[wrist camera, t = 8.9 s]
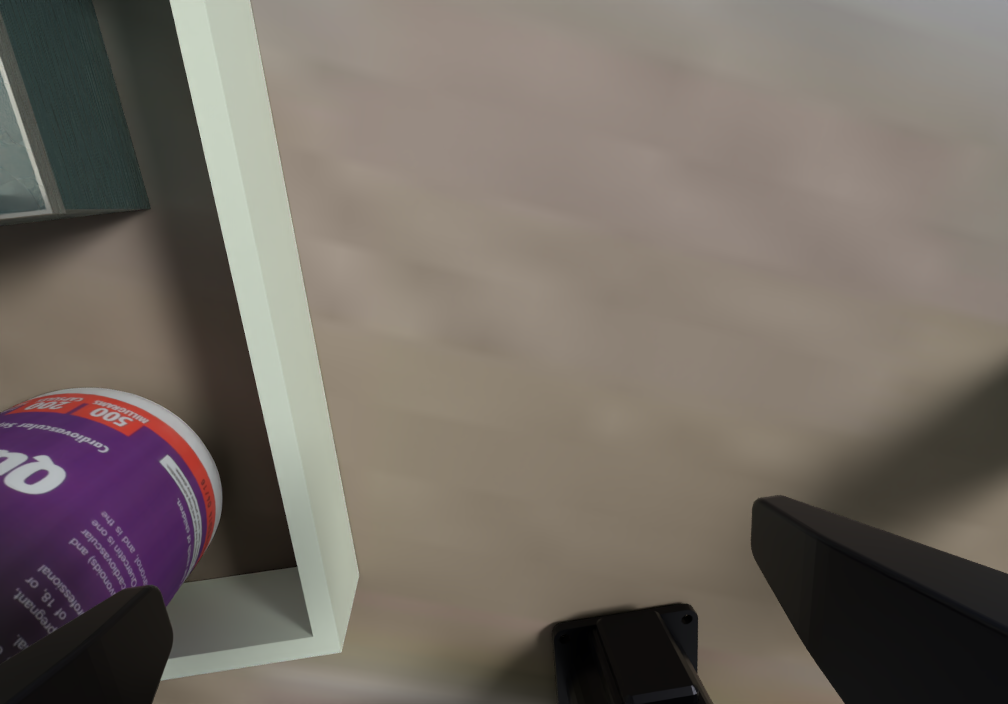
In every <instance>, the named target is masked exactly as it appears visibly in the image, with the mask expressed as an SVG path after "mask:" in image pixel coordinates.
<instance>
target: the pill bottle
mask: <svg viewBox="0 0 1008 704" xmlns="http://www.w3.org/2000/svg"><path fill="white" fill-rule="evenodd" d="M221 511H222V486H221V480H220V476H219V472H218V470H217V467H216V464H215V462H214V460H213V458H212V456H211V454H210V453H209V451H208V449H207V448H206V446H205V445H204V443H203V442H202V441H201V439H200V438H199V436H198V435H197V434H196V433H195V432H194V431H193V430H192V429H191V428H190V427H189V426H188V425H187V424H186V423H185V422H184V421H183V420H182V419H180V418H179V417H178V416H177V415H175V414H174V413H172V412H171V411H169V410H168V409H166V408H164V407H163V406H161V405H159V404H157V403H155V402H153V401H150V400H148V399H146V398H143V397H141V396H138V395H135V394H132V393H128V392H123V391H118V390H113V389H106V388H72V389H64V390H58V391H54V392H50V393H46V394H43V395H40V396H37V397H34V398H31V399H29V400H27V401H25V402H22V403H20V404H18V405H15V406H13V407H11V408H9V409H7V410H5V411H3V412H1V413H0V664H1V663H3V662H4V661H6V660H8V659H9V658H11V657H12V656H14V655H16V654H17V653H19V652H21V651H22V650H24V649H26V648H27V647H29V646H30V645H32V644H34V643H35V642H37V641H39V640H40V639H42V638H44V637H45V636H47V635H48V634H50V633H52V632H53V631H55V630H57V629H58V628H60V627H62V626H63V625H65V624H66V623H68V622H70V621H71V620H73V619H75V618H76V617H78V616H80V615H81V614H83V613H84V612H86V611H88V610H89V609H91V608H93V607H94V606H96V605H97V604H99V603H101V602H102V601H104V600H106V599H107V598H109V597H111V596H112V595H114V594H115V593H117V592H119V591H121V590H122V589H126V588H130V587H137V586H145V585H154V586H157V587H158V588H159V589H160V591H161V593H162V596H163V599H164V603H165V606H166V607H167V605H168V604H169V603H170V601H171V600H172V598H173V597H174V595H175V594H176V592H177V591H178V590H179V588H180V587H181V586H182V584H183V583H184V581H185V580H186V578H187V577H188V575H189V574H190V573H191V571H192V570H193V569H194V567H195V566H196V564H197V563H198V561H199V560H200V558H201V557H202V555H203V554H204V552H205V551H206V549H207V548H208V546H209V544H210V543H211V541H212V539H213V537H214V535H215V532H216V530H217V527H218V524H219V521H220V517H221Z"/></svg>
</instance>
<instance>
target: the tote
mask: <svg viewBox="0 0 1008 704" xmlns="http://www.w3.org/2000/svg"><path fill="white" fill-rule="evenodd" d="M170 4H171V8H172V13H173V17H174V22H175V26H176V30H177V35H178V39H179V44H180V48H181V53H182V57H183V61H184V66H185V70H186V75H187V79H188V84H189V88H190V92H191V97H192V101H193V106H194V110H195V115H196V119H197V123H198V128H199V132H200V137H201V141H202V146H203V150H204V154H205V159H206V163H207V168H208V172H209V177H210V181H211V186H212V190H213V194H214V199H215V203H216V208H217V212H218V217H219V221H220V225H221V230H222V234H223V239H224V243H225V248H226V252H227V256H228V261H229V265H230V270H231V274H232V279H233V283H234V287H235V292H236V296H237V301H238V305H239V310H240V314H241V318H242V323H243V327H244V332H245V336H246V341H247V345H248V349H249V354H250V358H251V363H252V367H253V372H254V376H255V381H256V385H257V389H258V394H259V398H260V403H261V407H262V412H263V416H264V420H265V425H266V429H267V434H268V438H269V443H270V447H271V451H272V456H273V460H274V465H275V469H276V474H277V478H278V482H279V487H280V491H281V496H282V500H283V505H284V509H285V513H286V518H287V522H288V527H289V531H290V536H291V540H292V544H293V549H294V553H295V558H296V562H297V567H292V568H285V569H278V570H271V571H265V572H258V573H251V574H244V575H237V576H230V577H223V578H216V579H209V580H202V581H195V582H188V583H183V584H182V586H181V587H180V588H179V590H178V591H177V592H176V594H175V595H174V597H173V598H172V600H171V601H170V603H169V604H168V605H167V607H166V609H167V612H168V616H169V619H170V622H171V625H172V629H173V636H174V637H173V646H172V650H171V653H170V656H169V658H168V661H167V664H166V667H165V669H164V672H163V675H162V678H161V680H168V679H174V678H180V677H187V676H193V675H200V674H206V673H212V672H219V671H225V670H231V669H238V668H244V667H251V666H257V665H263V664H270V663H276V662H283V661H289V660H295V659H302V658H308V657H315V656H321V655H327V654H334V653H340V652H342V648H343V644H344V640H345V635H346V631H347V626H348V622H349V618H350V613H351V609H352V605H353V600H354V596H355V592H356V587H357V583H358V578H359V571H358V566H357V560H356V555H355V550H354V545H353V539H352V534H351V529H350V524H349V518H348V513H347V508H346V503H345V497H344V492H343V487H342V482H341V476H340V471H339V466H338V461H337V455H336V450H335V445H334V440H333V434H332V429H331V424H330V419H329V413H328V408H327V403H326V397H325V392H324V387H323V382H322V376H321V371H320V366H319V361H318V355H317V350H316V345H315V340H314V334H313V329H312V324H311V319H310V313H309V308H308V303H307V298H306V292H305V287H304V282H303V277H302V271H301V266H300V261H299V256H298V250H297V245H296V240H295V235H294V229H293V224H292V219H291V214H290V208H289V203H288V198H287V193H286V187H285V182H284V177H283V171H282V166H281V161H280V156H279V150H278V145H277V140H276V135H275V129H274V124H273V119H272V114H271V108H270V103H269V98H268V93H267V87H266V82H265V77H264V72H263V66H262V61H261V56H260V51H259V45H258V40H257V35H256V30H255V24H254V19H253V14H252V9H251V3H250V0H170ZM161 680H160V681H161Z"/></svg>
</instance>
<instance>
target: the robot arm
mask: <svg viewBox="0 0 1008 704" xmlns="http://www.w3.org/2000/svg"><path fill="white" fill-rule="evenodd" d="M751 549H752V553H753V556H754V559H755V561H756V563H757V564H758V566H759V568H760V570H761V571H762V573H763V575H764V577H765V578H766V580H767V582H768V583H769V585H770V587H771V589H772V590H773V592H774V594H775V596H776V597H777V599H778V601H779V603H780V604H781V606H782V608H783V610H784V611H785V613H786V615H787V616H788V618H789V620H790V622H791V623H792V625H793V627H794V629H795V630H796V632H797V634H798V636H799V637H800V639H801V640H802V642H803V644H804V645H805V647H806V649H807V650H808V652H809V653H810V655H811V656H812V658H813V659H814V660H815V662H816V663H817V665H818V666H819V668H820V669H821V671H822V672H823V673H824V675H825V676H826V678H827V679H828V680H829V682H830V683H831V685H832V686H833V688H834V689H835V690H836V692H837V693H838V695H839V696H840V697H841V699H842V700H843V702H844V703H845V704H1008V574H1007V573H1004V572H1001V571H998V570H995V569H992V568H990V567H987V566H984V565H981V564H978V563H975V562H972V561H969V560H967V559H964V558H961V557H958V556H955V555H952V554H949V553H946V552H944V551H941V550H938V549H935V548H932V547H929V546H926V545H923V544H921V543H918V542H915V541H912V540H909V539H906V538H903V537H900V536H898V535H895V534H892V533H889V532H886V531H883V530H880V529H877V528H875V527H872V526H869V525H866V524H863V523H860V522H857V521H854V520H852V519H849V518H846V517H843V516H840V515H837V514H834V513H831V512H829V511H826V510H823V509H820V508H817V507H814V506H811V505H809V504H806V503H803V502H800V501H797V500H794V499H791V498H788V497H786V496H782V495H777V496H770V497H763V498H758V499H757V500H755V502H754V503H753V507H752V526H751ZM685 615H687V616H686V617H684V618H682V617H683V616H685ZM564 634H567V635H566V636H564V637H561V636H562V635H564ZM173 637H174V636H173V629H172V625H171V622H170V619H169V616H168V612H167V609H166V606H165V603H164V599H163V596H162V593H161V591H160V589H159V588H158V587H157V586H154V585H145V586H137V587H130V588H126V589H122V590H121V591H119V592H117V593H115V594H114V595H112V596H111V597H109V598H107V599H106V600H104V601H102V602H101V603H99V604H97V605H96V606H94V607H93V608H91V609H89V610H88V611H86V612H84V613H83V614H81V615H80V616H78V617H76V618H75V619H73V620H71V621H70V622H68V623H66V624H65V625H63V626H62V627H60V628H58V629H57V630H55V631H53V632H52V633H50V634H48V635H47V636H45V637H44V638H42V639H40V640H39V641H37V642H35V643H34V644H32V645H30V646H29V647H27V648H26V649H24V650H22V651H21V652H19V653H17V654H16V655H14V656H12V657H11V658H9V659H8V660H6V661H4V662H3V663H1V664H0V704H152V703H153V700H154V697H155V694H156V691H157V689H158V686H159V683H160V680H161V678H162V675H163V672H164V669H165V667H166V664H167V661H168V658H169V656H170V653H171V650H172V646H173ZM552 640H553V653H554V666H555V678H556V691H557V704H713V702H712V700H711V699H710V697H709V695H708V693H707V691H706V689H705V688H704V686H703V684H702V682H701V680H700V678H699V676H698V675H697V650H698V616H697V613H696V612H695V610H694V609H693V607H692V606H691V605H689V604H678V605H672V606H665V607H659V608H653V609H646V610H640V611H634V612H627V613H621V614H615V615H608V616H602V617H595V618H589V619H583V620H576V621H570V622H564V623H560V624H558V625H556V626H555V627H554V629H553V630H552Z"/></svg>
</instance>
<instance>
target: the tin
mask: <svg viewBox="0 0 1008 704" xmlns="http://www.w3.org/2000/svg"><path fill="white" fill-rule="evenodd" d="M143 209H151V207H150V204H149V200H148V197H147V193H146V190H145V186H144V183H143V179H142V176H141V172H140V168H139V165H138V161H137V158H136V154H135V151H134V147H133V144H132V140H131V137H130V133H129V130H128V126H127V123H126V119H125V116H124V112H123V108H122V105H121V101H120V98H119V94H118V91H117V87H116V84H115V80H114V77H113V73H112V70H111V66H110V63H109V59H108V56H107V52H106V49H105V45H104V41H103V38H102V34H101V31H100V27H99V24H98V20H97V17H96V13H95V10H94V6H93V3H92V0H0V226H4V225H12V224H21V223H30V222H39V221H47V220H56V219H65V218H74V217H82V216H91V215H100V214H109V213H117V212H126V211H135V210H143Z"/></svg>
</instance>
